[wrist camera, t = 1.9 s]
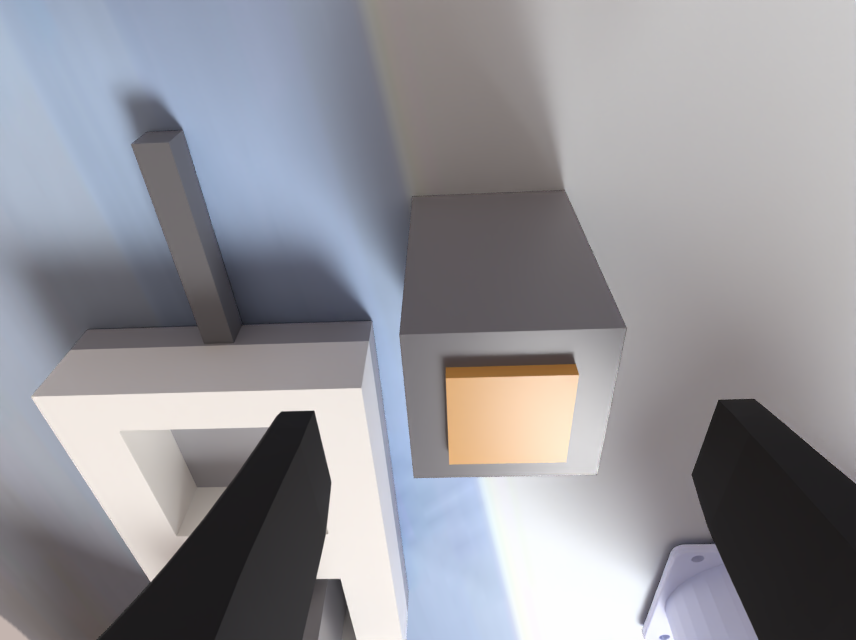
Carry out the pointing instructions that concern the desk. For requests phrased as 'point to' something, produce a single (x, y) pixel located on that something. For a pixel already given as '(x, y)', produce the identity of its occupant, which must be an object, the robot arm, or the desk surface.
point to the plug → (505, 338)
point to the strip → (231, 417)
